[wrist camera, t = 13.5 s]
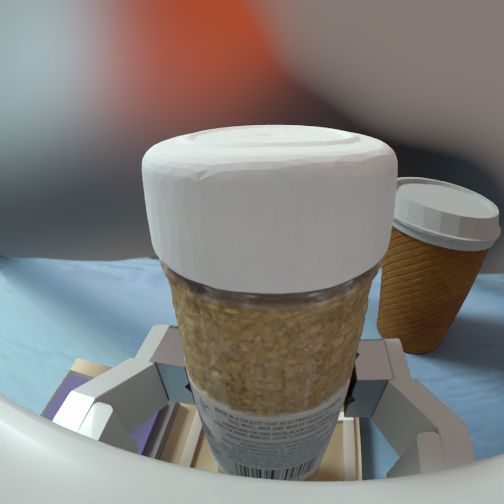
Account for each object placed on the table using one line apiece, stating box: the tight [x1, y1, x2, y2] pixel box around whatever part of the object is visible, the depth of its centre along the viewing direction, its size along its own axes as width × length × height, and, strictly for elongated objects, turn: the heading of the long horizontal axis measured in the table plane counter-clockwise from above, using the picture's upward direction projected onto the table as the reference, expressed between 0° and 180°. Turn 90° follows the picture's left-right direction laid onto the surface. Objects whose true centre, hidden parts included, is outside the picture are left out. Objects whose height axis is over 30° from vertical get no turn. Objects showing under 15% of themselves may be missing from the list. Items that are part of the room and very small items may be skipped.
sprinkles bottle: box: [142, 125, 398, 481], centre depth 8 cm, size 5×5×13 cm
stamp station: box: [40, 358, 362, 481], centre depth 13 cm, size 20×12×2 cm, turn 82°
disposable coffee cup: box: [377, 177, 501, 353], centre depth 21 cm, size 10×10×12 cm
